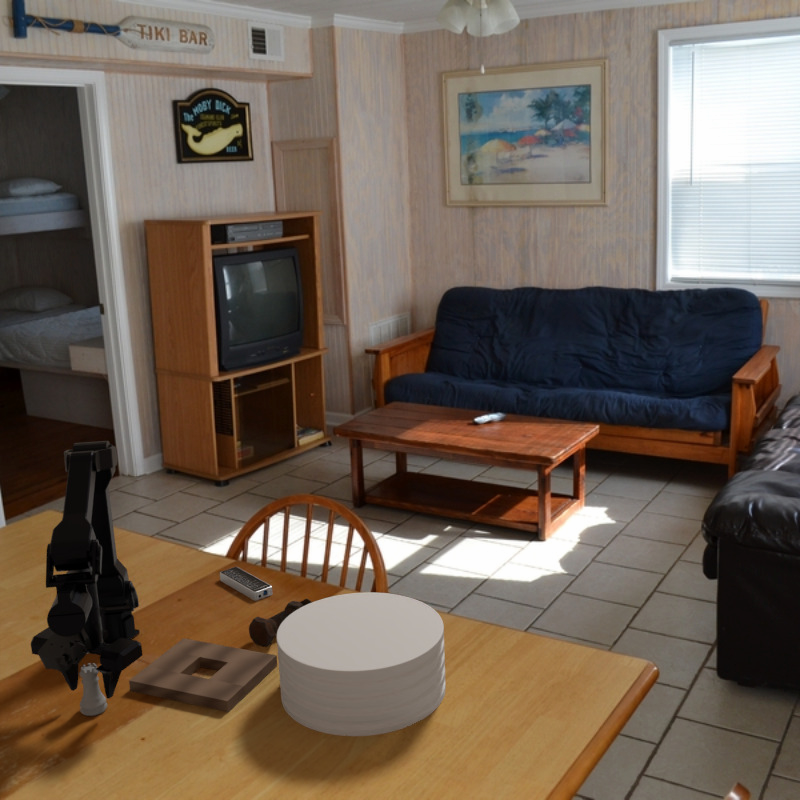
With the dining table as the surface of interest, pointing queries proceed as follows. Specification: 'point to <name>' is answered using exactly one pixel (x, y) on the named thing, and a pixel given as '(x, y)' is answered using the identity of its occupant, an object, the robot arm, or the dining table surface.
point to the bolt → (272, 624)
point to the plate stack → (361, 663)
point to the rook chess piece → (91, 692)
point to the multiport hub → (246, 583)
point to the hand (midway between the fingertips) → (92, 693)
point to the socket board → (218, 692)
